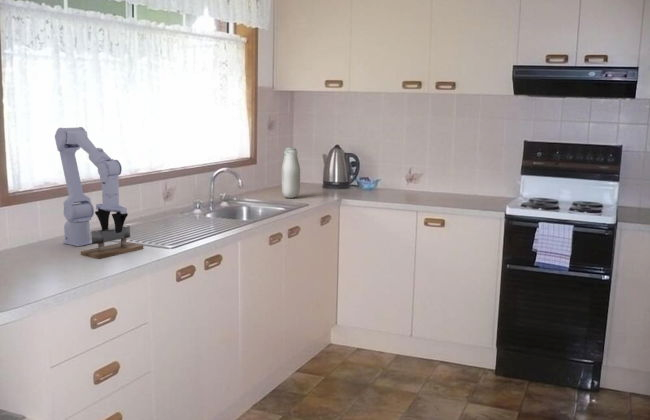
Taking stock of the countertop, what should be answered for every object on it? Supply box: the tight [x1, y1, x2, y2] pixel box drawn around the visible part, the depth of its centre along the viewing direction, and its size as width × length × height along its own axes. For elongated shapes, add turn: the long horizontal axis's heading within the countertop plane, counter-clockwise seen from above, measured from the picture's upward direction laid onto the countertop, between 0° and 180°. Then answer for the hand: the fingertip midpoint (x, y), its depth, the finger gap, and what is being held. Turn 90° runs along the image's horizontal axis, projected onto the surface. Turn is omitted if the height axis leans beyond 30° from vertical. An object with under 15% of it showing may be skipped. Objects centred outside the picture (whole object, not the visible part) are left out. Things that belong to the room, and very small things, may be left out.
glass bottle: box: [280, 146, 301, 199], centre depth 381 cm, size 10×10×28 cm
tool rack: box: [80, 238, 144, 260], centre depth 252 cm, size 10×20×4 cm, turn 146°
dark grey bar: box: [90, 224, 131, 245], centre depth 251 cm, size 4×16×4 cm, turn 146°
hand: (111, 231), depth 251 cm, fingers open, 7 cm apart
